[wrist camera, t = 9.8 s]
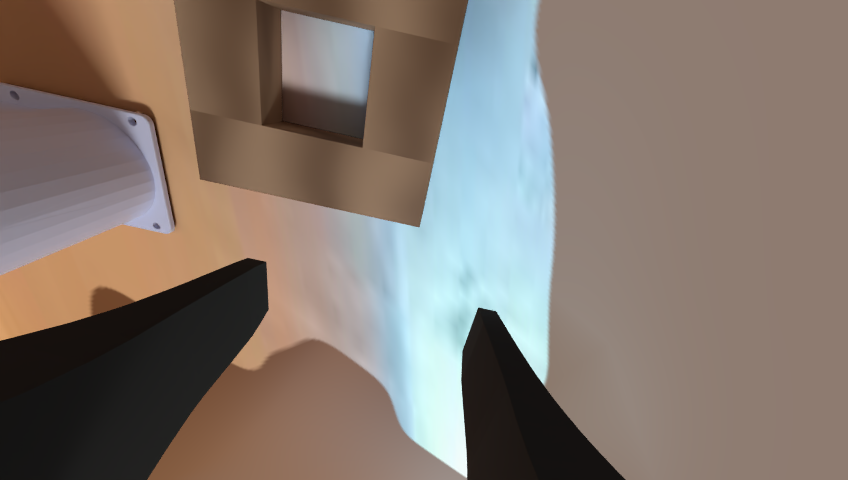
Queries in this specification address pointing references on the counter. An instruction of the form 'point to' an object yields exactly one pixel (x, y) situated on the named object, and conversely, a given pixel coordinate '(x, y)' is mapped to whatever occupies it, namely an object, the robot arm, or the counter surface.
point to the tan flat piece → (309, 147)
